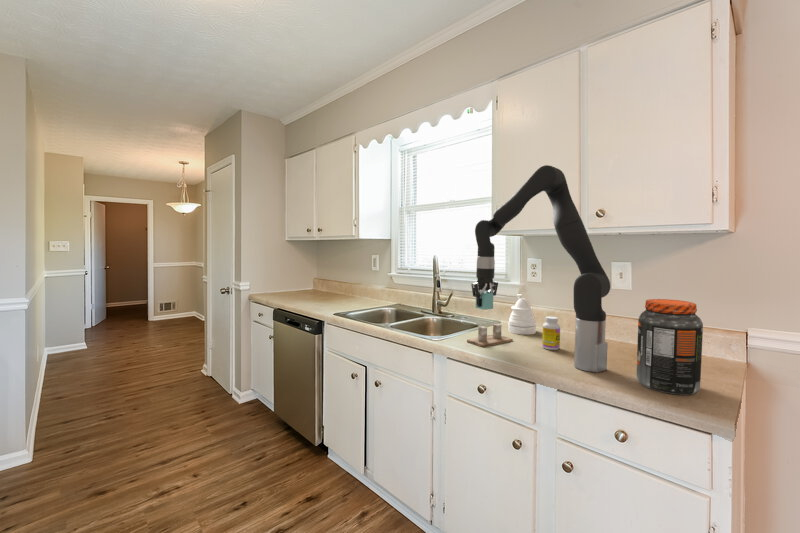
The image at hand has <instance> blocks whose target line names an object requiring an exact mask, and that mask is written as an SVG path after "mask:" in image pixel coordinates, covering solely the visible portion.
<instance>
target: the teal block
mask: <svg viewBox="0 0 800 533" xmlns="http://www.w3.org/2000/svg"><path fill="white" fill-rule="evenodd" d="M493 293H494V292H493ZM493 293H487V292H484V294H482V307H478V306H477V298H476V297H475V308H476V309H479V310H483V311H485V310H492V309H494V296H493ZM479 295H480V293H479Z"/></svg>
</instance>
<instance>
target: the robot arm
mask: <svg viewBox="0 0 800 533" xmlns="http://www.w3.org/2000/svg"><path fill="white" fill-rule="evenodd" d="M542 192H545V194H546V195H547V197H548V199H549V201H550V203H551V204H550V205H551V206H552V212H553V213H552V214H553V226H554V229H555V232H556V235H557V237H558V239H559V242H560V244H561V245H562V247H563V248H564V250H565V251H566V252H567V254H569V256H570V257H571V258H572V260H573V261H574V263H575V264H576V266H577V268H578V270H579V273H580V274H579V275H578V276H577V277H576V279H574V280H575V281H574V283H573V310H574V312H575V331H574V332H575V333H574V361H573V362H574V365H573V366H574V367H575V368H576V369H578V370H582V371H585V372H591V373H597V374H598V373H600V372H603V371H607V369H608V346H609V345H608V342H607V341H606V324H607V322H606V321H607V313H606V311H604V310H603V307H602V306H603V305H602V299H603V298H605V297H606V296H608V295H609V293H610V290H611V281H610V279H609V277H608V275H607V273H606V272H605V269H604V268H603V267H602V265H601V263H600V261H599V258H598V256H597V255H596V252H595V249H594V247H593V244H592V242H591V239H590V237H589V235H588V232H587V230H586V227H585V225H584V222H583V220H582V218H581V215H580V213H579V212H578V209H577V207H576V205H575V203H574V201H573V198H572V195H571V193H570V189H569V185H568V182H567V179H566V176H565V174H564V172H563V171H562V170H561V169H559V167H558V168H557V167H555V166H553V165H547V164H545V165H543V166H540V167H539V168H537V169H536V171H534V173H532V175H531V176H530V177H529V178H528V179H527V180H526V181H525V183H524V184H523V185H521V187H520V188H519V189H518V190H517V191H516V192H515V193H514V194H513V195H512V196H511V197H510V198H509V199H508V200H506V201H505V202H504V203H503V204H502V205H500V206H499V207H498V208H497V209H496V210H495V211H494V212H493V213H492V214H493V215H492V216H493V217H491V219H489V220H486V219H481V220H479V221H478V222H477V223H476V224H475V228H474V235H475V241H476V245H477V258H476V271H475V272H476V273H475V274H476V275H475V276H476V277H475V278H477V281H476V282H472V283H471V285H470V286H471V291H472V297H475V299H476V298H477V306H478V307H482V294H484V292H487V293H493V297H494V296H495V297H496V295H497V291H498V287H499V282H497V281H494V279H495V270H496V269H495V268H496V267H495V266H496V265H495V264H496V263H495V262H496V260H495V244H494V243H492V242H491V238H492V237H494V236H496V235H498V233H500V232H501V231H502V230H503V229H504V227H505V226H506V225H507V224H508V223H509V222H510V221H512V220H513V219H514V218H516V217H517V216H518V215H519V214H520V213H521V212H522V210H524V208H525V206H526V205H527V204H528V202H529V201H530V200H532V199H533V198H534V197H535V196H537V195H539V194H541V193H542ZM479 293H480V295H479Z"/></svg>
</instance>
